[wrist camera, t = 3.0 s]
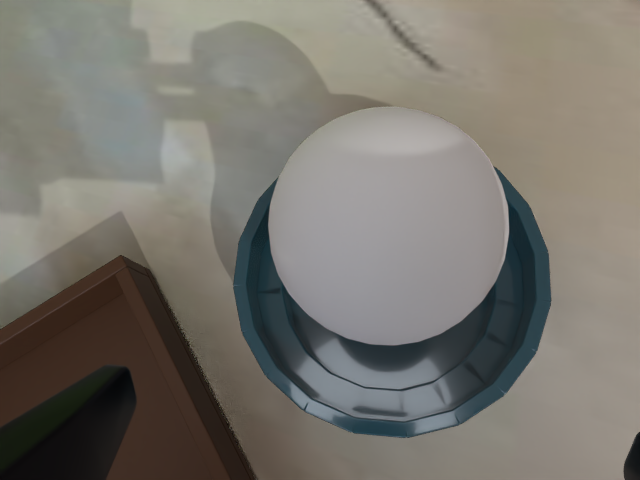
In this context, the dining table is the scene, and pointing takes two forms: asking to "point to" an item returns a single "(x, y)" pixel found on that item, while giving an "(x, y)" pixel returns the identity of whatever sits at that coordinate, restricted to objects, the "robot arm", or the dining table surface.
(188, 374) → the tray
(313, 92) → the dining table surface
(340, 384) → the bowl
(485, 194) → the lightbulb
